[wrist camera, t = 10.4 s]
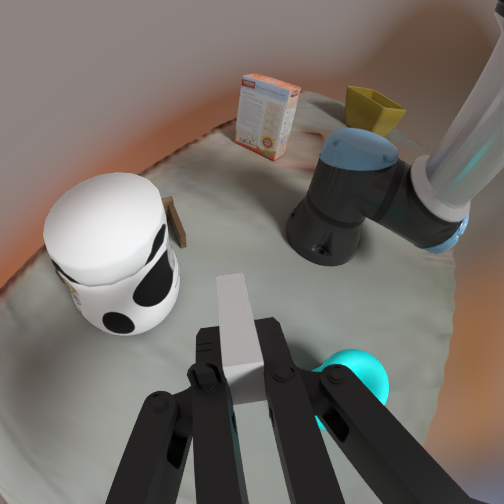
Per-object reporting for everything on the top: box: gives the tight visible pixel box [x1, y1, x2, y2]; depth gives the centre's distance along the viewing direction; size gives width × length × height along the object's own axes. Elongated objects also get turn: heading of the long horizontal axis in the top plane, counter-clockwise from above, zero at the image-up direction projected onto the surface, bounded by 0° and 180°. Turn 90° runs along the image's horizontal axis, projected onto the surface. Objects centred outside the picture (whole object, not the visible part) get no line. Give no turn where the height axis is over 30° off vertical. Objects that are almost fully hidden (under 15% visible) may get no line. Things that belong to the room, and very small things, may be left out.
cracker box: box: [234, 73, 301, 161], centre depth 65 cm, size 14×6×21 cm, turn 53°
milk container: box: [43, 172, 180, 336], centre depth 34 cm, size 17×17×18 cm
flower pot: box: [345, 86, 406, 138], centre depth 91 cm, size 19×19×17 cm
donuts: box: [312, 349, 389, 430], centre depth 31 cm, size 10×10×10 cm
